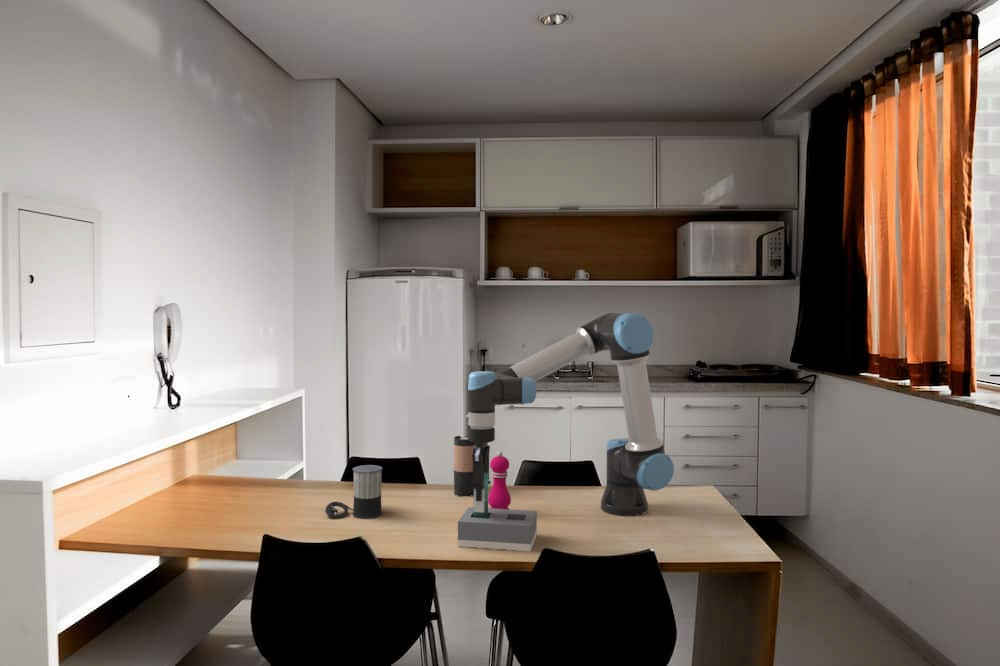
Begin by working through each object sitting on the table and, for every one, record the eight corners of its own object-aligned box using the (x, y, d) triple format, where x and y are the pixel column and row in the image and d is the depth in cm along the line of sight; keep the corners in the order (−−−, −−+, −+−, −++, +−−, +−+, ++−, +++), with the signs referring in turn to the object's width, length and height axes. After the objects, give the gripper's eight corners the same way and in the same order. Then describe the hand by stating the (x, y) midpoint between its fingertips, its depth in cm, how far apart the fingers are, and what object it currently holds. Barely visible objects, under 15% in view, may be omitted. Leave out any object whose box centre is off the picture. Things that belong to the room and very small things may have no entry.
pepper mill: (508, 518, 217) (508, 454, 216) (485, 516, 218) (486, 453, 218) (512, 511, 224) (513, 449, 223) (490, 510, 226) (491, 448, 225)
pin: (489, 524, 198) (489, 472, 198) (486, 528, 194) (486, 475, 194) (475, 523, 199) (475, 471, 198) (472, 528, 195) (472, 474, 195)
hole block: (536, 535, 201) (536, 510, 201) (530, 551, 187) (530, 525, 187) (468, 530, 205) (468, 507, 204) (457, 546, 191) (457, 521, 191)
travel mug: (467, 498, 239) (467, 440, 239) (449, 494, 243) (449, 437, 243) (479, 493, 246) (480, 436, 245) (461, 490, 250) (462, 434, 249)
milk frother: (388, 514, 220) (388, 468, 220) (345, 525, 209) (345, 476, 208) (362, 505, 230) (362, 460, 229) (319, 515, 219) (319, 468, 218)
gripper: (474, 421, 205) (474, 500, 205) (461, 431, 188) (461, 517, 189) (499, 422, 203) (499, 502, 204) (489, 432, 187) (488, 519, 188)
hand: (481, 509), depth 197 cm, fingers closed on pin, 4 cm apart
